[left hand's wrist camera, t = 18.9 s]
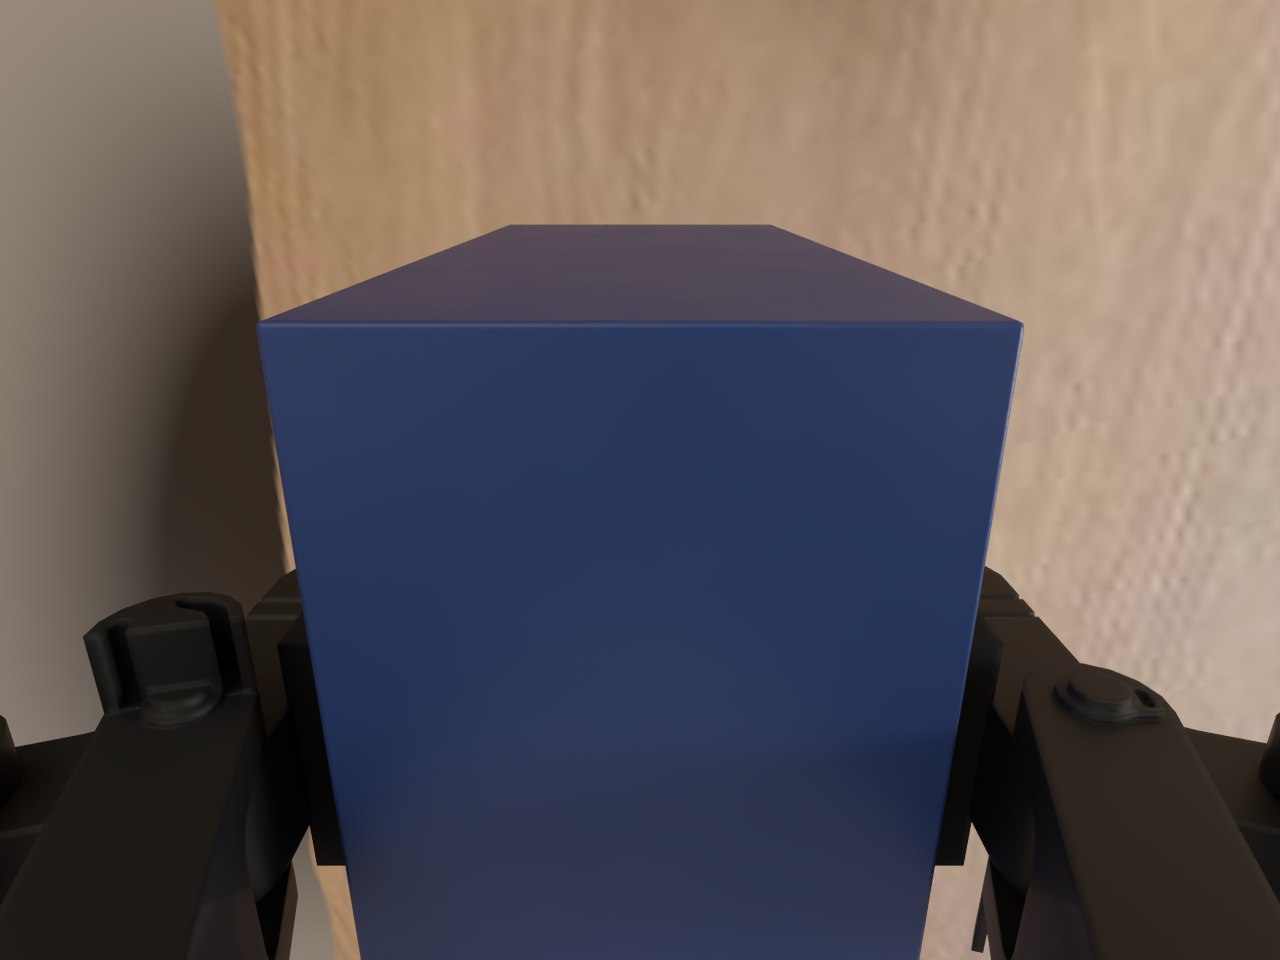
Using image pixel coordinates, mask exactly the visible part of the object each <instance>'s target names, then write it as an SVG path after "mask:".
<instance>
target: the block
mask: <svg viewBox="0 0 1280 960" xmlns="http://www.w3.org/2000/svg"><path fill="white" fill-rule="evenodd" d="M256 330H257V336H258V342H259V348H260V354H261V360H262V366H263V372H264V378H265V384H266V390H267V397H268V403H269V409H270V415H271V421H272V427H273V433H274V439H275V445H276V451H277V457H278V463H279V469H280V475H281V481H282V487H283V493H284V499H285V505H286V511H287V517H288V523H289V529H290V535H291V541H292V547H293V553H294V559H295V565H296V571H297V577H298V583H299V589H300V595H301V601H302V607H303V613H304V619H305V625H306V631H307V637H308V643H309V649H310V655H311V661H312V667H313V673H314V680H315V686H316V692H317V698H318V704H319V710H320V716H321V722H322V728H323V734H324V740H325V746H326V752H327V758H328V764H329V770H330V776H331V782H332V788H333V794H334V800H335V806H336V812H337V818H338V824H339V830H340V836H341V842H342V848H343V854H344V860H345V866H346V872H347V878H348V884H349V890H350V896H351V902H352V908H353V914H354V920H355V926H356V932H357V938H358V944H359V950H360V957H361V960H919V958H920V952H921V946H922V940H923V934H924V928H925V922H926V916H927V910H928V904H929V898H930V892H931V886H932V880H933V874H934V868H935V862H936V856H937V850H938V844H939V838H940V832H941V826H942V819H943V813H944V807H945V801H946V795H947V789H948V783H949V777H950V771H951V765H952V759H953V753H954V747H955V741H956V735H957V729H958V723H959V717H960V711H961V705H962V699H963V693H964V687H965V681H966V675H967V669H968V663H969V657H970V651H971V645H972V639H973V633H974V627H975V621H976V615H977V609H978V603H979V597H980V591H981V585H982V579H983V573H984V567H985V561H986V555H987V549H988V543H989V537H990V531H991V525H992V519H993V513H994V507H995V501H996V495H997V489H998V483H999V477H1000V471H1001V465H1002V459H1003V453H1004V447H1005V441H1006V435H1007V429H1008V423H1009V417H1010V411H1011V405H1012V399H1013V393H1014V387H1015V381H1016V375H1017V369H1018V363H1019V357H1020V351H1021V345H1022V339H1023V333H1024V326H1023V323H1022V322H1019V321H1017V320H1015V319H1012V318H1009V317H1007V316H1004V315H1002V314H999V313H997V312H994V311H991V310H989V309H986V308H984V307H981V306H979V305H976V304H973V303H971V302H968V301H966V300H963V299H961V298H958V297H955V296H953V295H950V294H948V293H945V292H942V291H940V290H937V289H935V288H932V287H930V286H927V285H924V284H922V283H919V282H917V281H914V280H912V279H909V278H906V277H904V276H901V275H899V274H896V273H894V272H891V271H888V270H886V269H883V268H881V267H878V266H876V265H873V264H870V263H868V262H865V261H863V260H860V259H858V258H855V257H852V256H850V255H847V254H845V253H842V252H840V251H837V250H834V249H832V248H829V247H827V246H824V245H822V244H819V243H816V242H814V241H811V240H809V239H806V238H804V237H801V236H798V235H796V234H793V233H791V232H788V231H786V230H783V229H780V228H778V227H775V226H773V225H508V226H506V227H503V228H500V229H498V230H495V231H493V232H490V233H488V234H485V235H482V236H480V237H477V238H475V239H472V240H469V241H467V242H464V243H462V244H459V245H457V246H454V247H451V248H449V249H446V250H444V251H441V252H438V253H436V254H433V255H431V256H428V257H426V258H423V259H420V260H418V261H415V262H413V263H410V264H407V265H405V266H402V267H400V268H397V269H395V270H392V271H389V272H387V273H384V274H382V275H379V276H377V277H374V278H371V279H369V280H366V281H364V282H361V283H358V284H356V285H353V286H351V287H348V288H346V289H343V290H340V291H338V292H335V293H333V294H330V295H327V296H325V297H322V298H320V299H317V300H315V301H312V302H309V303H307V304H304V305H302V306H299V307H296V308H294V309H291V310H289V311H286V312H284V313H281V314H278V315H276V316H273V317H271V318H268V319H265V320H263V321H261V322H258V323H257V328H256Z"/></svg>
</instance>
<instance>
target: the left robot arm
mask: <svg viewBox="0 0 1280 960" xmlns="http://www.w3.org/2000/svg"><path fill="white" fill-rule="evenodd" d="M83 639H84V642H85V646H86V650H87V653H88V657H89V660H90V664H91V668H92V671H93V675H94V678H95V682H96V685H97V689H98V692H99V696H100V700H101V703H102V707H103V710H104V715H103V717H102V719H101V721H100V723H99V724H98V726H97V728H96V730H95V731H94V732H90V733H86V734H81V735H76V736H71V737H66V738H61V739H55V740H50V741H45V742H39V743H35V744H29V745H24V746H19V747H15V746H14V742H13V739H12V736H11V733H10V730H9V727H8V724H7V721H6V719H5V718H4V717H2V716H1V715H0V960H289V957H290V949H291V942H292V935H293V928H294V920H295V913H296V906H297V898H298V893H297V886H296V878H295V873H294V868H293V863H292V858H293V856H294V854H295V852H296V850H297V848H298V846H299V844H300V842H301V840H302V839H303V837H304V835H305V833H306V831H307V829H308V827H309V825H310V829H311V835H312V840H313V846H314V851H315V857H316V862H317V866H345V860H344V854H343V848H342V842H341V836H340V830H339V824H338V818H337V812H336V806H335V800H334V794H333V788H332V782H331V776H330V770H329V764H328V758H327V752H326V746H325V740H324V734H323V728H322V722H321V716H320V710H319V704H318V698H317V692H316V686H315V680H314V673H313V667H312V661H311V655H310V649H309V643H308V637H307V631H306V625H305V619H304V613H303V607H302V601H301V595H300V589H299V583H298V577H297V571H296V569H295V570H293V571H291V572H289V573H288V574H286V575H284V576H282V577H281V578H280V579H279V580H278V581H277V582H276V583H275V584H274V585H273V587H272V588H271V589H270V590H269V591H268V592H267V593H266V594H265V595H264V597H263V598H262V602H258V603H257V604H256V606H255V607H254V608H253V609H252V610H251V611H250V612H249V613H248V615H247V620H245V619H244V614H243V609H242V604H240V603H239V602H237V601H236V600H235V599H233V598H232V597H230V596H227V595H222V594H216V593H211V592H197V593H179V594H174V595H169V596H164V597H159V598H154V599H150V600H147V601H144V602H141V603H138V604H136V605H133V606H130V607H127V608H124V609H122V610H120V611H118V612H116V613H114V614H113V615H111V616H109V617H107V618H105V619H103V620H102V621H100V622H98V623H97V624H96V625H95V626H94V627H93V628H92V629H91V630H90V631H89V632H88V633H87V634H85V635H84V636H83ZM971 822H972V823H973V825H974V827H975V829H976V831H977V833H978V835H979V837H980V839H981V841H982V843H983V845H984V847H985V849H986V851H987V853H988V855H989V858H988V863H987V868H986V873H985V878H984V883H983V888H982V893H981V898H980V904H979V909H978V914H977V919H976V924H975V929H974V935H973V942H972V949H971V950H972V951H976V952H981V953H983V950H984V945H985V940H986V935H987V934H988V940H989V947H990V955H991V960H1280V713H1279V714H1277V715H1276V718H1275V721H1274V724H1273V727H1272V730H1271V733H1270V736H1269V739H1268V742H1267V744H1266V743H1261V742H1256V741H1251V740H1245V739H1240V738H1235V737H1230V736H1224V735H1219V734H1214V733H1209V732H1203V731H1198V730H1194V729H1190V728H1186V727H1183V725H1182V723H1181V721H1180V719H1179V717H1178V716H1177V714H1176V712H1175V711H1174V710H1173V709H1172V708H1171V706H1170V705H1169V704H1168V703H1167V702H1166V701H1165V700H1164V698H1163V697H1162V696H1161V695H1159V694H1157V693H1156V692H1154V691H1153V690H1151V689H1150V688H1148V687H1147V686H1145V685H1144V684H1142V683H1141V682H1139V681H1137V680H1134V679H1132V678H1130V677H1127V676H1125V675H1122V674H1120V673H1117V672H1115V671H1112V670H1109V669H1105V668H1100V667H1096V666H1092V665H1087V664H1083V663H1079V662H1078V660H1077V659H1076V658H1075V657H1074V656H1073V655H1072V654H1071V653H1070V651H1069V650H1068V649H1067V648H1066V647H1065V646H1064V645H1063V644H1062V643H1061V641H1060V640H1059V639H1058V638H1057V637H1056V636H1055V635H1054V634H1053V633H1052V631H1051V630H1050V629H1049V628H1048V627H1047V626H1046V625H1045V624H1044V622H1043V621H1042V620H1041V619H1040V618H1039V617H1035V616H1034V611H1033V610H1032V609H1031V608H1030V607H1029V606H1028V605H1027V604H1026V602H1025V601H1024V600H1023V599H1019V595H1018V593H1017V592H1016V591H1015V590H1014V589H1013V588H1012V587H1011V586H1010V585H1009V583H1008V582H1007V581H1006V580H1005V579H1004V578H1003V577H1002V576H1001V575H1000V574H998V573H997V572H995V571H993V570H991V569H990V568H988V567H986V566H985V567H984V573H983V579H982V585H981V591H980V597H979V603H978V609H977V615H976V621H975V627H974V633H973V639H972V645H971V651H970V657H969V663H968V669H967V675H966V681H965V687H964V693H963V699H962V705H961V711H960V717H959V723H958V729H957V735H956V741H955V747H954V753H953V759H952V765H951V771H950V777H949V783H948V789H947V795H946V801H945V807H944V813H943V819H942V826H941V832H940V838H939V844H938V850H937V856H936V862H935V866H964V860H965V855H966V849H967V844H968V838H969V833H970V827H971Z"/></svg>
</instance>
